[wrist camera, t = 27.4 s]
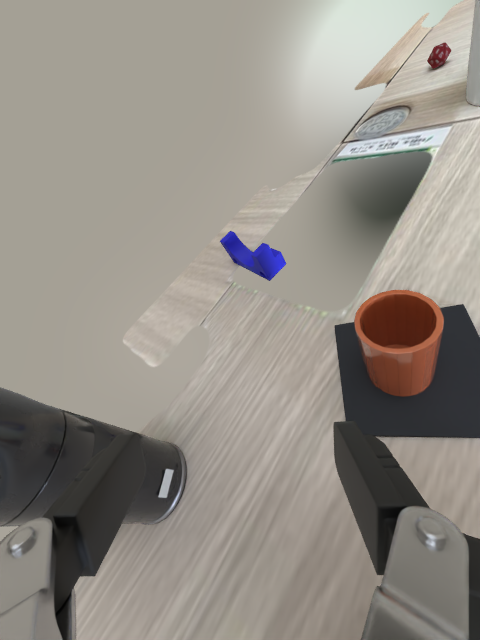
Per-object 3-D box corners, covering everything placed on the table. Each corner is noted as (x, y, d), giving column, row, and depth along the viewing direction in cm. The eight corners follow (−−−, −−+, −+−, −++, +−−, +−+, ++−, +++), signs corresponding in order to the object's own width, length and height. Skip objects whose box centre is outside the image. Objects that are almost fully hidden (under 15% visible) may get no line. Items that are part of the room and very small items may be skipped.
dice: (450, 64, 59) (453, 41, 56) (426, 74, 61) (427, 53, 58) (449, 58, 60) (452, 35, 57) (426, 68, 63) (427, 47, 60)
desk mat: (348, 435, 27) (347, 434, 27) (335, 327, 35) (334, 325, 35) (526, 438, 21) (528, 437, 21) (462, 306, 29) (463, 304, 29)
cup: (371, 397, 28) (360, 357, 21) (362, 347, 31) (350, 298, 24) (442, 395, 25) (456, 347, 18) (423, 340, 29) (429, 282, 22)
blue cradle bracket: (286, 263, 47) (274, 238, 43) (269, 280, 47) (256, 257, 42) (248, 248, 56) (235, 225, 51) (234, 262, 55) (219, 241, 51)
